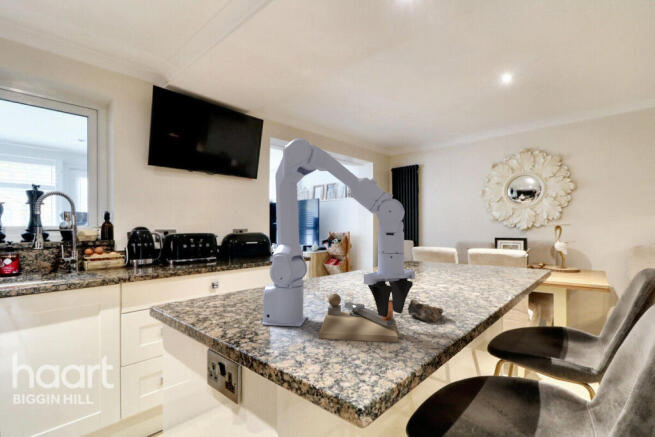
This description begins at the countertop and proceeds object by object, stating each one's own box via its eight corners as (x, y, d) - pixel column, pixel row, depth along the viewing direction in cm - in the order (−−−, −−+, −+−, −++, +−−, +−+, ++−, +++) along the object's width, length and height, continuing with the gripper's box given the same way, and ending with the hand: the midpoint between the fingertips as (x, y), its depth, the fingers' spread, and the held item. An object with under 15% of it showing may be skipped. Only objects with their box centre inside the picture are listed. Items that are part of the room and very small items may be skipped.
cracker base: (319, 338, 61) (319, 308, 61) (327, 315, 77) (327, 291, 77) (397, 342, 59) (397, 311, 59) (389, 317, 75) (389, 293, 75)
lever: (342, 307, 77) (342, 288, 77) (352, 306, 79) (352, 287, 79) (385, 326, 62) (385, 302, 62) (396, 324, 64) (396, 301, 64)
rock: (430, 326, 69) (454, 312, 75) (422, 302, 70) (446, 289, 76) (404, 325, 76) (427, 312, 82) (397, 303, 77) (420, 291, 83)
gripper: (380, 255, 58) (380, 324, 57) (425, 252, 66) (425, 313, 66) (357, 252, 63) (356, 315, 63) (401, 250, 72) (401, 306, 71)
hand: (390, 314), depth 65 cm, fingers open, 4 cm apart
